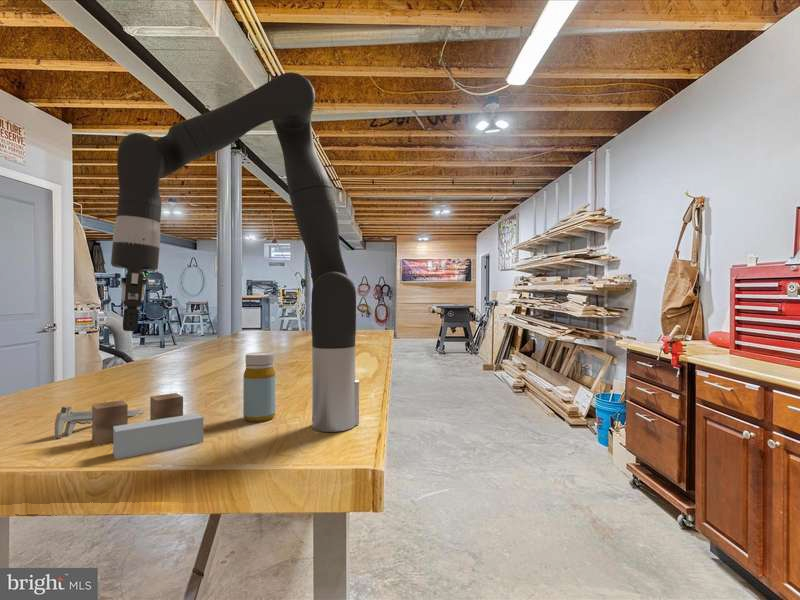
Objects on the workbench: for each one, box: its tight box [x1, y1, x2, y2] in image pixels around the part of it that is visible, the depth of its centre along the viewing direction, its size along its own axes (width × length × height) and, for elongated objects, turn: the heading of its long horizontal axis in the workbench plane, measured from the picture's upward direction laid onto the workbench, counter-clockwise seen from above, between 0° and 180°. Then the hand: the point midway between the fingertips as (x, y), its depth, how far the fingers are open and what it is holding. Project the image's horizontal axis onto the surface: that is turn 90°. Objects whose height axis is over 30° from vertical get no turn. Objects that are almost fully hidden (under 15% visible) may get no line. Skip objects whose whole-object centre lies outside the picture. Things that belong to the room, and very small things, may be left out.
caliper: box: [54, 406, 145, 439], centre depth 92 cm, size 20×1×6 cm, turn 166°
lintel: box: [112, 413, 204, 460], centre depth 77 cm, size 14×4×5 cm, turn 129°
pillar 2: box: [149, 392, 184, 421], centre depth 89 cm, size 5×5×7 cm
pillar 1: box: [91, 399, 129, 447], centre depth 82 cm, size 5×5×7 cm
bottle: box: [242, 351, 276, 423], centre depth 97 cm, size 7×7×15 cm
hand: (129, 329), depth 78 cm, fingers open, 8 cm apart
